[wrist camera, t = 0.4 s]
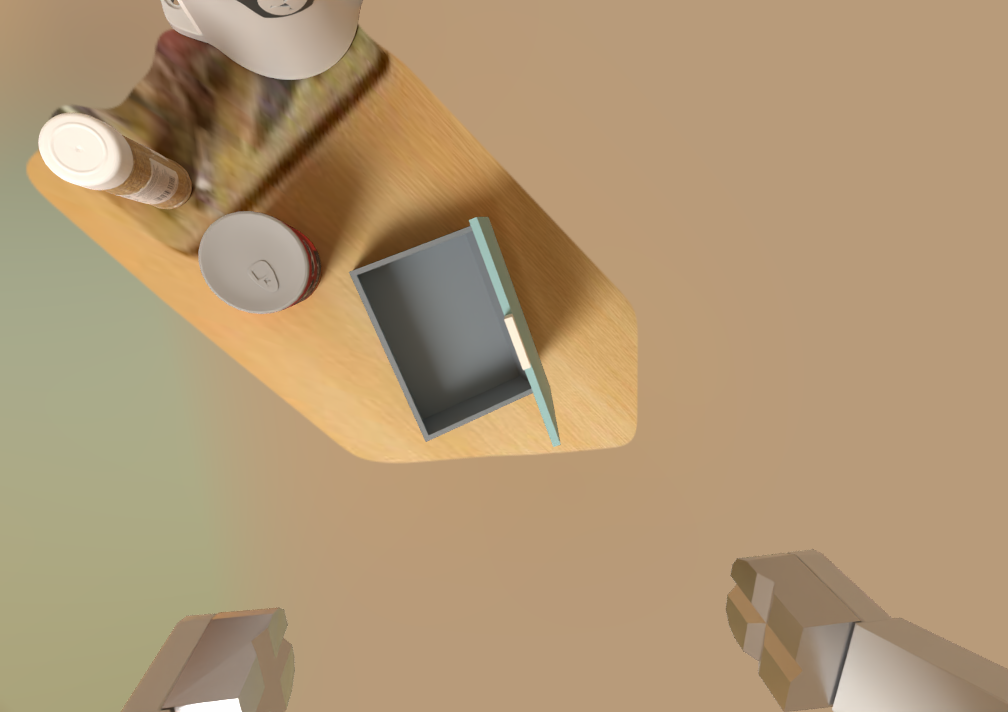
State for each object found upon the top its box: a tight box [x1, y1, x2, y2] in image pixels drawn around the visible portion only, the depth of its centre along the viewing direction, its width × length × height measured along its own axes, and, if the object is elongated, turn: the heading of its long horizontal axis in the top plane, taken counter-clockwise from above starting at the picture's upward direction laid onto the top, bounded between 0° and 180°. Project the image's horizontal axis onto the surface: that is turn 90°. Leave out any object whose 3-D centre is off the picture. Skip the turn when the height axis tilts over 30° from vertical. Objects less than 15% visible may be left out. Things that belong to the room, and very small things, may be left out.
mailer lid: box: [469, 217, 561, 447], centre depth 41 cm, size 18×14×1 cm
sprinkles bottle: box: [39, 113, 192, 209], centre depth 37 cm, size 5×5×14 cm
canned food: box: [199, 211, 321, 314], centre depth 42 cm, size 8×8×11 cm
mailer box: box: [349, 226, 533, 442], centre depth 49 cm, size 18×13×6 cm
